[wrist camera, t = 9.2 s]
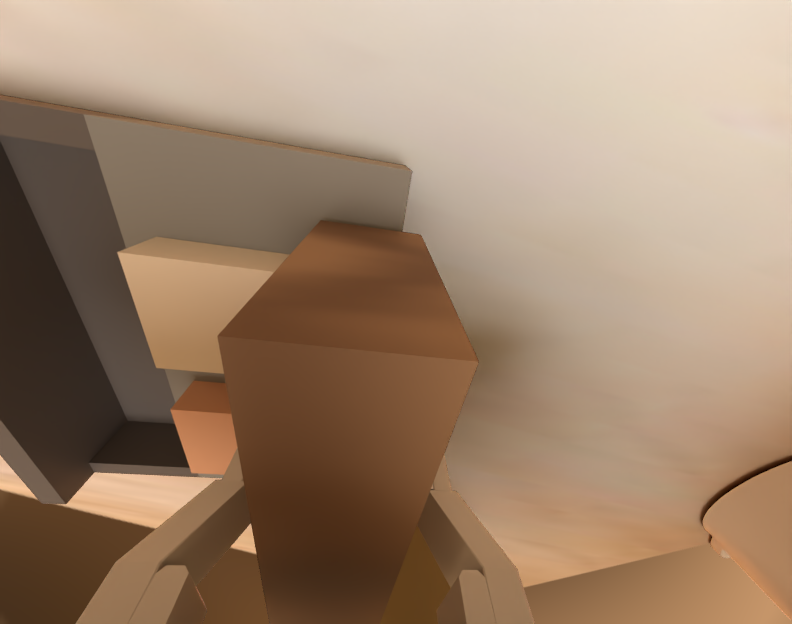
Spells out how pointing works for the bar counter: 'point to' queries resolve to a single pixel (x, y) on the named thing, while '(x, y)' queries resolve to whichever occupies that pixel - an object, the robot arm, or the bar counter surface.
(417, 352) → the long wooden plank
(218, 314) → the tile cream
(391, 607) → the squeeze bottle
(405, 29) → the bar counter surface
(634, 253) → the bar counter surface
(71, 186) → the grey tray with lip
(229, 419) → the tile terracotta
